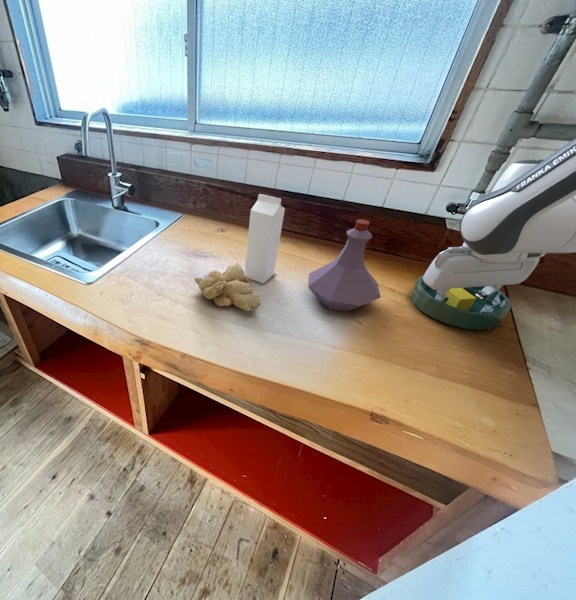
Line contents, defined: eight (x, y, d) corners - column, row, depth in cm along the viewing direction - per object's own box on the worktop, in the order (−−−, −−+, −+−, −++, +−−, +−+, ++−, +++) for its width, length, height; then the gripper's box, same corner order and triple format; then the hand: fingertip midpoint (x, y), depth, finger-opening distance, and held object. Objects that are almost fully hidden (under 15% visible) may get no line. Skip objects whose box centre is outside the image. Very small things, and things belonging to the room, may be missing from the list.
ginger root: (196, 273, 88) (203, 249, 82) (252, 289, 87) (263, 265, 82) (186, 310, 76) (194, 284, 70) (251, 328, 75) (264, 303, 70)
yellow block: (468, 310, 72) (476, 298, 70) (453, 311, 72) (460, 299, 70) (451, 297, 76) (458, 285, 74) (437, 298, 76) (443, 286, 74)
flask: (384, 296, 78) (418, 218, 66) (362, 331, 69) (397, 247, 57) (318, 274, 88) (337, 202, 76) (290, 302, 78) (307, 224, 66)
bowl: (520, 328, 68) (533, 312, 65) (443, 334, 67) (453, 317, 64) (459, 285, 81) (468, 270, 78) (395, 289, 80) (401, 274, 78)
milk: (262, 284, 85) (275, 202, 72) (243, 276, 88) (251, 197, 75) (274, 274, 88) (287, 195, 75) (254, 267, 92) (264, 190, 78)
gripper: (454, 255, 61) (424, 312, 69) (557, 248, 62) (516, 305, 70) (431, 241, 66) (405, 295, 74) (526, 234, 67) (491, 289, 75)
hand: (460, 300), depth 72 cm, fingers open, 8 cm apart
